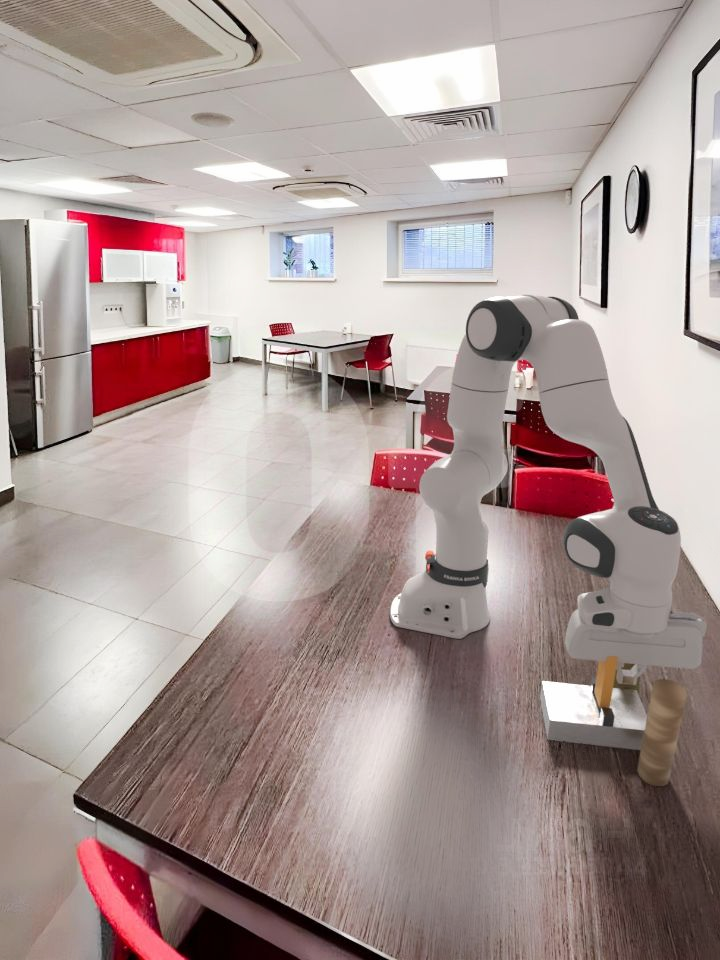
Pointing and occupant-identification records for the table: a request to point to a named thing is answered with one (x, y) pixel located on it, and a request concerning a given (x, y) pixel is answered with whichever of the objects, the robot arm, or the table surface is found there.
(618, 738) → the breaker box
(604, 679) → the lever
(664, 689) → the oak post
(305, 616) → the table surface
